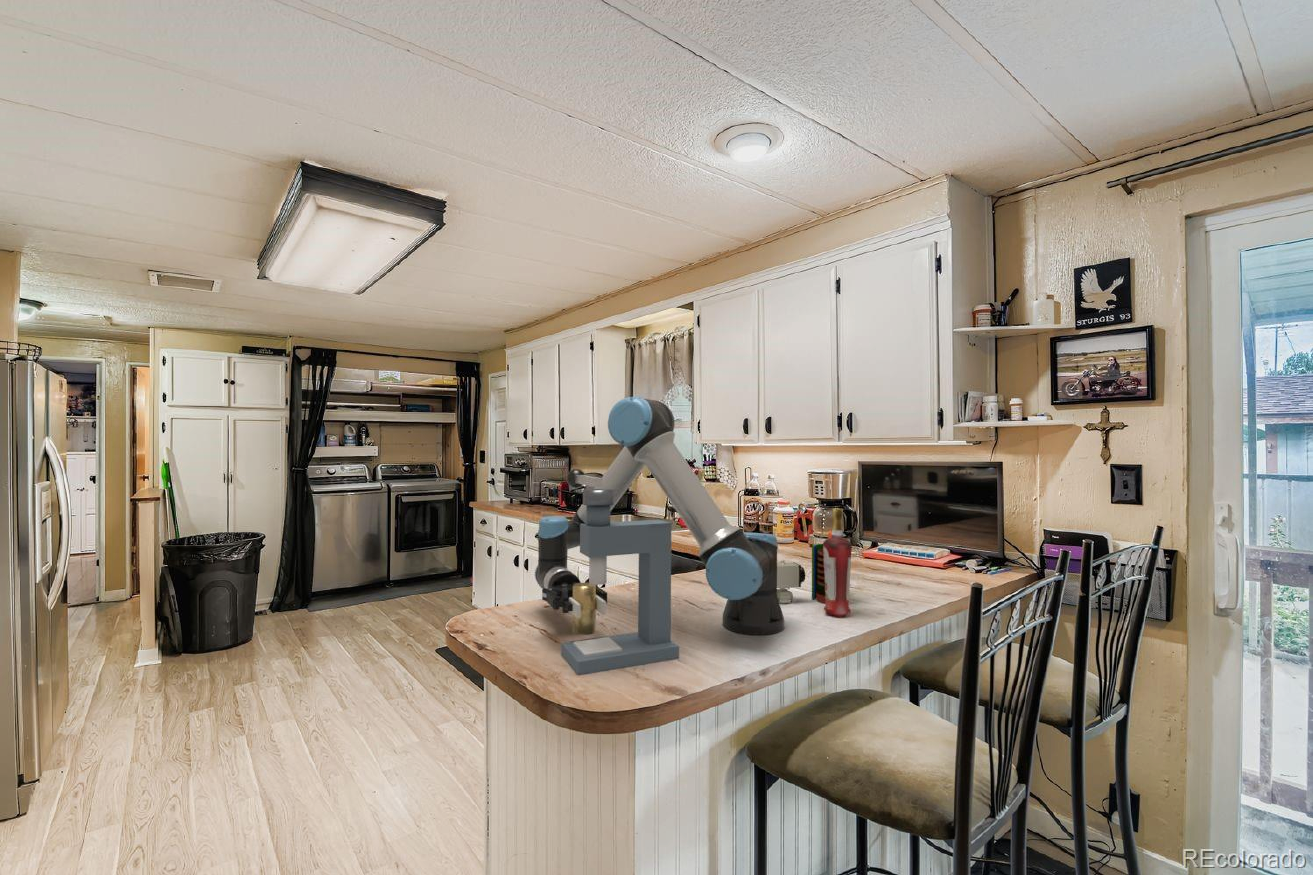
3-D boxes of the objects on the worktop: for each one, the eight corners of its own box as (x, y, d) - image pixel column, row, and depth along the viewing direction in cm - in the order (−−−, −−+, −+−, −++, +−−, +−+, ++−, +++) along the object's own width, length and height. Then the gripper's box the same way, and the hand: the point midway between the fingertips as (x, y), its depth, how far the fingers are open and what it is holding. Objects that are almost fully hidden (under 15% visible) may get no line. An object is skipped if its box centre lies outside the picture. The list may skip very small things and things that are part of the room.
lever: (586, 496, 139) (586, 468, 139) (618, 505, 120) (618, 472, 120) (559, 497, 137) (560, 468, 137) (588, 506, 117) (588, 473, 117)
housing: (597, 627, 130) (597, 582, 130) (593, 635, 125) (593, 588, 125) (575, 627, 130) (575, 582, 130) (570, 634, 125) (570, 587, 125)
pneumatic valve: (805, 603, 165) (805, 561, 165) (766, 605, 163) (766, 562, 163) (797, 598, 171) (797, 557, 171) (759, 600, 168) (759, 558, 169)
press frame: (655, 640, 133) (656, 500, 134) (678, 658, 122) (680, 505, 123) (561, 654, 124) (562, 503, 124) (577, 674, 113) (579, 509, 113)
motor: (810, 602, 166) (811, 532, 166) (813, 595, 174) (813, 528, 175) (848, 606, 163) (848, 534, 163) (848, 598, 171) (848, 530, 171)
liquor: (818, 610, 158) (819, 507, 158) (845, 610, 159) (845, 507, 159) (828, 618, 151) (828, 510, 151) (856, 618, 151) (856, 510, 152)
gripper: (597, 596, 148) (631, 622, 126) (525, 604, 140) (549, 633, 119) (597, 567, 148) (631, 588, 126) (526, 573, 140) (549, 596, 119)
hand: (591, 609), depth 123 cm, fingers closed on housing, 5 cm apart
